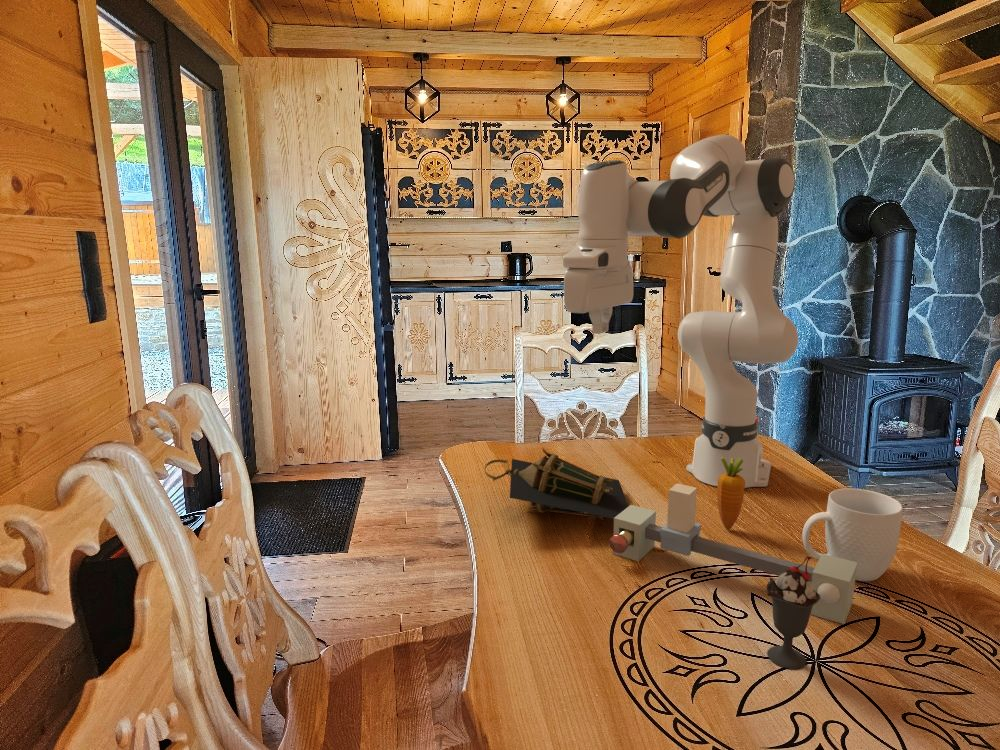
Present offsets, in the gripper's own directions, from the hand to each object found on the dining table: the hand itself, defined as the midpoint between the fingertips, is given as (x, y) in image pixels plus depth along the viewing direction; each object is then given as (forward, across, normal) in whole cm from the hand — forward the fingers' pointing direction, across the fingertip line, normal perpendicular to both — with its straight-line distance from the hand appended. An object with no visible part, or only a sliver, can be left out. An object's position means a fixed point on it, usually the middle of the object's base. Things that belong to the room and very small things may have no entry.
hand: (600, 332), depth 121 cm
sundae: (+39, +19, +40) cm, 59 cm away
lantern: (+39, -3, -11) cm, 41 cm away
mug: (+39, -11, +43) cm, 59 cm away
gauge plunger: (+37, +5, +9) cm, 38 cm away
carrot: (+39, -15, +21) cm, 47 cm away
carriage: (+36, +3, +18) cm, 40 cm away
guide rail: (+39, +3, +26) cm, 47 cm away
